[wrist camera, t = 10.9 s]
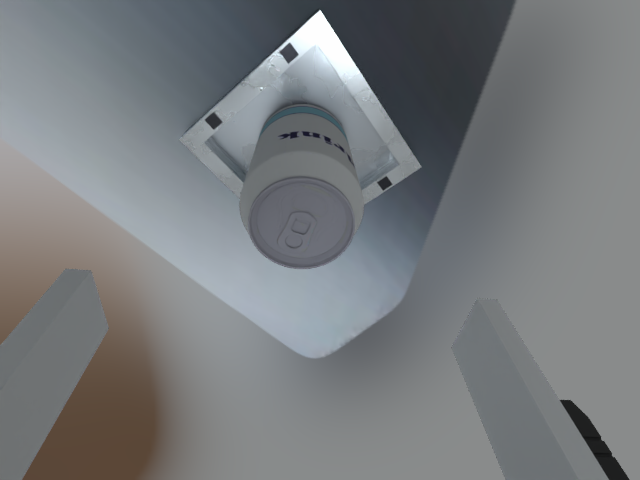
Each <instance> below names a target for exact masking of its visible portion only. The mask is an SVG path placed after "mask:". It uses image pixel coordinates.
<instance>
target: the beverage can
mask: <svg viewBox="0 0 640 480" xmlns="http://www.w3.org/2000/svg"><path fill="white" fill-rule="evenodd" d="M239 205H240V214H241V218H242V221H243V224H244V226H245V228H246V230H247V232H248V233H249V235H250V237H251V240H252V242H253V243H254V245H255V247H256V248H257V249H258V250H259V251H260V253H262V254H263V255H264V256H265V257H266V258H268V259H269V260H271V261H273V262H274V263H277V264H279V265H282V266H284V267H289V268H295V269H310V268H315V267H319V266H322V265H325V264H327V263H329V262H331V261H333V260H335V259H336V258H337V257H339V256H340V255H341V254H342V253H343V252H344V251H345V250H346V249H347V247H348V246H349V244H350V242H351V240H352V238H353V236H354V235H355V233H356V232H357V230H358V228H359V226H360V224H361V221H362V217H363V211H364V199H363V194H362V190H361V186H360V183H359V179H358V176H357V172H356V169H355V165H354V162H353V158H352V155H351V151H350V148H349V144H348V141H347V137H346V134H345V131H344V129H343V127H342V126H341V124H340V123H339V121H338V120H337V119H336V118H335V117H334V116H333V115H332V114H330V113H329V112H328V111H326V110H324V109H322V108H320V107H317V106H314V105H309V104H296V105H291V106H288V107H285V108H283V109H281V110H279V111H277V112H276V113H274V114H273V115H272V116H271V117H270V118H269V119H268V120H267V121H266V123H265V124H264V126H263V128H262V130H261V132H260V135H259V138H258V141H257V144H256V148H255V151H254V154H253V157H252V160H251V163H250V166H249V169H248V172H247V175H246V178H245V181H244V184H243V187H242V190H241V195H240V204H239Z"/></svg>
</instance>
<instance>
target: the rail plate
mask: <svg viewBox="0 0 640 480" xmlns="http://www.w3.org/2000/svg"><path fill="white" fill-rule="evenodd" d="M296 104H309V105H314V106H317V107H320V108H322V109H324V110H326V111H328V112H329V113H330V114H332V115H333V116H334V117H335V118H336V119H337V120H338V121H339V123H340V124H341V126H342V127H343V129H344V131H345V134H346V137H347V141H348V144H349V148H350V151H351V155H352V158H353V162H354V165H355V169H356V172H357V176H358V179H359V183H360V186H361V190H362V194H363V199H364V205H365V204H366V203H368V202H369V201H371V200H372V199H374V198H376V197H377V196H379V195H380V194H382V193H383V192H385V191H386V190H388V189H389V188H391V187H392V186H394V185H395V184H397V183H398V182H400V181H401V180H403V179H404V178H406V177H407V176H409V175H410V174H412V173H413V172H415V171H417V170H418V169H420V168H421V165H420V164H419V162H418V161H417V159H416V158H415V156H414V155H413V153H412V151H411V150H410V148H409V147H408V145H407V144H406V142H405V141H404V139H403V138H402V136H401V134H400V133H399V131H398V130H397V128H396V127H395V125H394V124H393V122H392V121H391V119H390V117H389V116H388V114H387V113H386V111H385V110H384V108H383V107H382V105H381V104H380V102H379V100H378V99H377V97H376V96H375V94H374V93H373V91H372V90H371V88H370V87H369V85H368V83H367V82H366V80H365V79H364V77H363V76H362V74H361V73H360V71H359V70H358V68H357V66H356V65H355V63H354V62H353V60H352V59H351V57H350V56H349V54H348V53H347V51H346V49H345V48H344V46H343V45H342V43H341V42H340V40H339V39H338V37H337V36H336V34H335V33H334V31H333V29H332V28H331V26H330V25H329V23H328V22H327V20H326V19H325V17H324V16H323V14H322V12H321V11H320V10H318V11H316V12H315V13H314V14H313V15H312V16H311V17H310V18H309V19H308V20H307V21H306V22H304V23H303V24H302V25H301V26H300V27H299V28H298V29H297V30H296V31H295V32H294V33H293V34H291V35H290V36H289V37H288V38H287V39H286V40H285V41H284V42H283V43H282V44H281V45H279V46H278V47H277V48H276V49H275V50H274V51H273V52H272V53H271V54H270V55H269V56H267V57H266V58H265V59H264V60H263V61H262V62H261V63H260V64H259V65H258V66H257V67H255V68H254V69H253V70H252V71H251V72H250V73H249V74H248V75H247V76H246V77H245V78H244V79H242V80H241V81H240V82H239V83H238V84H237V85H236V86H235V87H234V88H233V89H232V90H230V91H229V92H228V93H227V94H226V95H225V96H224V97H223V98H222V99H221V100H220V101H218V102H217V103H216V104H215V105H214V106H213V107H212V108H211V109H210V110H209V111H208V112H206V113H205V114H204V115H203V116H202V117H201V118H200V119H199V120H198V121H197V122H196V123H195V124H193V125H192V126H191V127H190V128H189V129H188V130H187V131H186V132H185V133H184V134H183V135H182V137H181V138H180V139H179V140H180V141H181V142H182V143H183V144H184V145H185V146H186V147H187V148H188V149H189V150H190V151H191V152H192V153H193V154H194V155H195V156H196V157H197V158H198V159H199V160H200V161H201V162H202V163H203V164H204V165H205V166H206V167H207V168H208V169H209V170H210V171H211V172H212V173H213V174H214V175H216V176H217V177H218V178H219V179H220V180H221V181H222V182H223V183H224V184H225V185H226V186H227V187H228V188H229V189H230V190H231V191H232V192H233V193H234V194H235V195H236V196H237V197H238V198H239V199H240V195H241V190H242V187H243V184H244V181H245V178H246V175H247V172H248V169H249V166H250V163H251V160H252V157H253V154H254V151H255V148H256V144H257V141H258V138H259V135H260V132H261V130H262V128H263V126H264V124H265V123H266V121H267V120H268V119H269V118H270V117H271V116H272V115H273V114H274V113H276V112H277V111H279V110H281V109H283V108H285V107H288V106H291V105H296Z"/></svg>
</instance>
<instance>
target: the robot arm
mask: <svg viewBox="0 0 640 480" xmlns="http://www.w3.org/2000/svg"><path fill="white" fill-rule="evenodd" d="M108 329H109V327H108V324H107V321H106V317H105V314H104V311H103V308H102V305H101V301H100V298H99V294H98V292H97V288H96V285H95V281H94V278H93V275H92V272H91V270H77V269H65V270H64V271H63V273H62V274H61V275H60V276H59V277H58V278H57V280H56V281H55V282H54V283H53V284H52V286H51V287H50V288H49V289H48V290H47V291H46V293H45V294H44V295H43V296H42V297H41V298H40V300H39V301H38V302H37V303H36V304H35V305H34V307H33V308H32V309H31V310H30V311H29V312H28V314H27V315H26V316H25V317H24V318H23V320H22V321H21V322H20V323H19V324H18V325H17V327H16V328H15V329H14V330H13V331H12V332H11V334H10V335H9V336H8V337H7V338H6V340H5V341H4V342H3V343H2V344H1V345H0V480H22V478H23V477H24V475H25V473H26V471H27V470H28V468H29V466H30V464H31V463H32V461H33V459H34V458H35V456H36V454H37V452H38V451H39V449H40V447H41V445H42V444H43V442H44V440H45V438H46V436H47V435H48V433H49V431H50V430H51V428H52V426H53V425H54V423H55V421H56V419H57V418H58V416H59V414H60V412H61V411H62V409H63V407H64V405H65V403H66V402H67V400H68V398H69V397H70V395H71V393H72V391H73V390H74V388H75V386H76V384H77V383H78V381H79V379H80V377H81V375H82V374H83V372H84V371H85V369H86V367H87V365H88V364H89V362H90V360H91V358H92V357H93V355H94V353H95V351H96V350H97V348H98V346H99V345H100V343H101V341H102V339H103V337H104V336H105V334H106V332H107V331H108ZM451 348H452V350H453V353H454V355H455V358H456V360H457V363H458V365H459V367H460V370H461V372H462V375H463V377H464V380H465V382H466V384H467V387H468V389H469V392H470V394H471V397H472V399H473V402H474V404H475V406H476V409H477V411H478V414H479V416H480V419H481V421H482V423H483V426H484V428H485V431H486V433H487V436H488V438H489V441H490V443H491V445H492V448H493V450H494V453H495V455H496V458H497V460H498V463H499V465H500V467H501V470H502V472H503V475H504V477H505V479H506V480H629V478H628V477H627V475H626V474H625V472H624V471H623V469H622V468H621V466H620V465H619V463H618V462H617V460H616V459H615V457H612V453H611V451H610V450H609V448H608V447H607V445H606V444H605V442H604V441H602V440H601V436H600V435H599V433H598V432H597V430H596V428H595V427H594V425H593V424H592V423H591V421H590V419H589V418H588V417H587V416H586V415H585V414H584V413H583V412H582V411H581V410H580V409H579V408H578V407H577V406H576V405H575V404H574V403H573V402H572V401H571V400H559V398H558V397H557V395H556V394H555V392H554V390H553V389H552V387H551V385H550V384H549V382H548V381H547V379H546V377H545V376H544V374H543V373H542V371H541V370H540V368H539V366H538V365H537V363H536V362H535V360H534V358H533V357H532V355H531V353H530V352H529V350H528V348H527V347H526V345H525V344H524V342H523V340H522V339H521V337H520V336H519V334H518V332H517V331H516V329H515V328H514V326H513V325H512V323H511V321H510V320H509V318H508V316H507V315H506V313H505V311H504V310H503V308H502V307H501V305H500V303H499V302H498V300H495V299H481V298H477V300H476V301H475V303H474V305H473V307H472V309H471V311H470V313H469V315H468V317H467V319H466V321H465V322H464V324H463V326H462V328H461V330H460V332H459V334H458V336H457V338H456V340H455V342H454V343H453V345H452V347H451Z"/></svg>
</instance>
